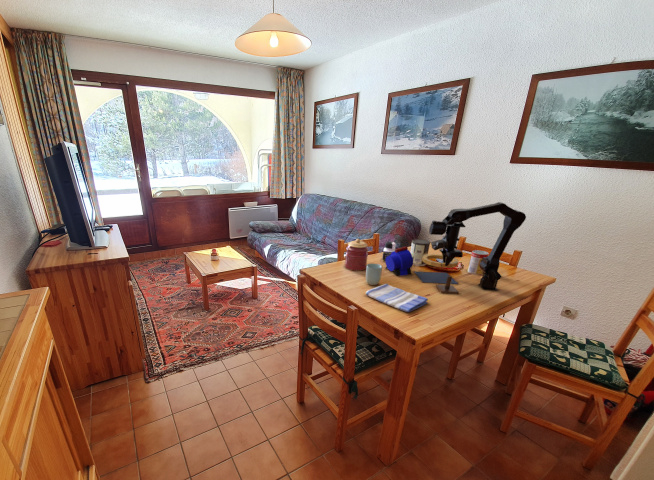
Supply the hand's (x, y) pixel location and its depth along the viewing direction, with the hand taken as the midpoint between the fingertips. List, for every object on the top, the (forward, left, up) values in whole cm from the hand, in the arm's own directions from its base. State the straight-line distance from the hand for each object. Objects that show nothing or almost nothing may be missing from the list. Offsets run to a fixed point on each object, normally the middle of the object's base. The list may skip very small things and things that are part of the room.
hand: (445, 265), depth 159 cm
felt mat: (0, -9, -11) cm, 14 cm away
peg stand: (0, +8, -11) cm, 13 cm away
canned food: (-26, -21, -11) cm, 35 cm away
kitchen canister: (+42, -21, -11) cm, 48 cm away
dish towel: (+28, +22, -11) cm, 37 cm away
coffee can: (+3, -33, -11) cm, 35 cm away
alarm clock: (+19, -16, -11) cm, 27 cm away
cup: (+36, +4, -11) cm, 38 cm away
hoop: (0, -8, -1) cm, 8 cm away
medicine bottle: (+20, -36, -11) cm, 43 cm away
